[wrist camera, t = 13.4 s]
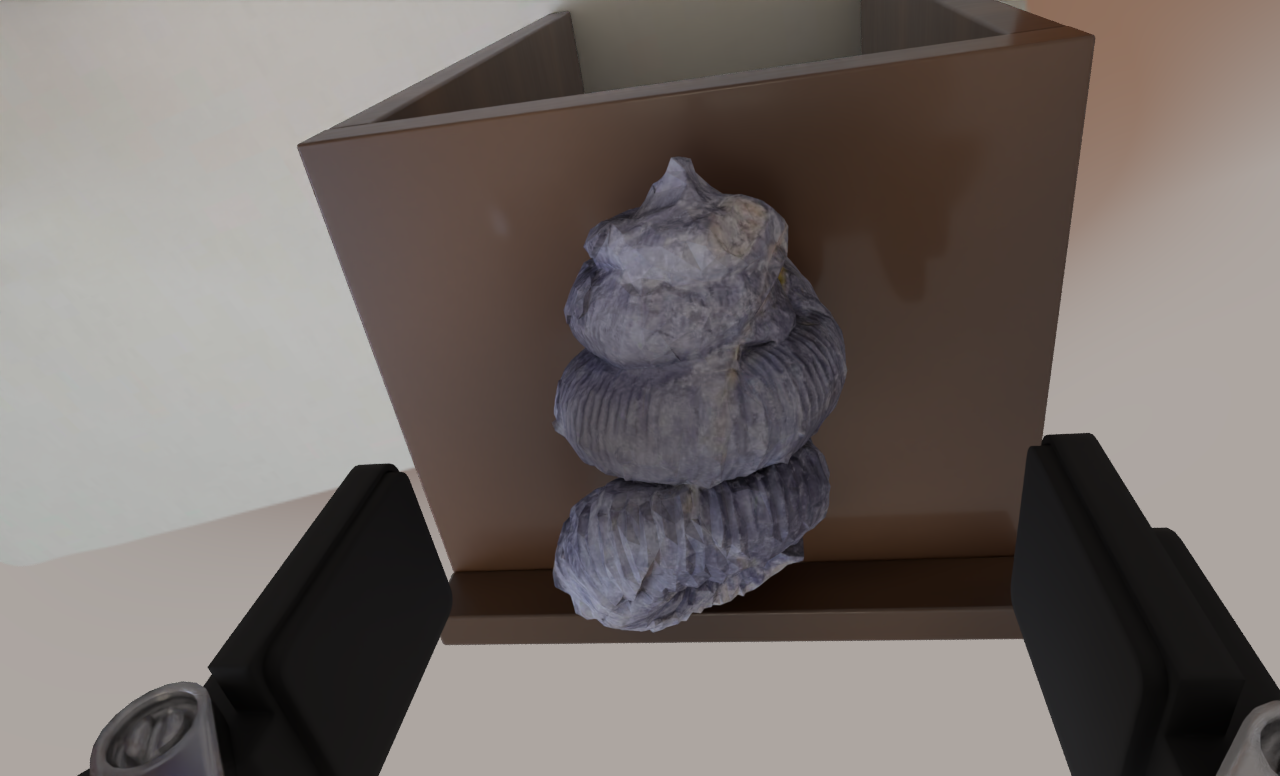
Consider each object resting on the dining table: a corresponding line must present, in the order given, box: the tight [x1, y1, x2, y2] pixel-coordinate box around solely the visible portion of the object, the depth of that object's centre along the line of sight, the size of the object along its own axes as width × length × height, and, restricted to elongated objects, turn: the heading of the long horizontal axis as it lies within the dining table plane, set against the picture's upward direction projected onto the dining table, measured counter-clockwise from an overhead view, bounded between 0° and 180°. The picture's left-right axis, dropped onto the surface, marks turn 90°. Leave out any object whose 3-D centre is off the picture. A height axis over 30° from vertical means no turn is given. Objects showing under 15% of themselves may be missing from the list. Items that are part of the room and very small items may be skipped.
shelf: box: [297, 0, 1095, 645], centre depth 25 cm, size 14×12×24 cm
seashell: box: [552, 156, 847, 633], centre depth 14 cm, size 5×5×10 cm
